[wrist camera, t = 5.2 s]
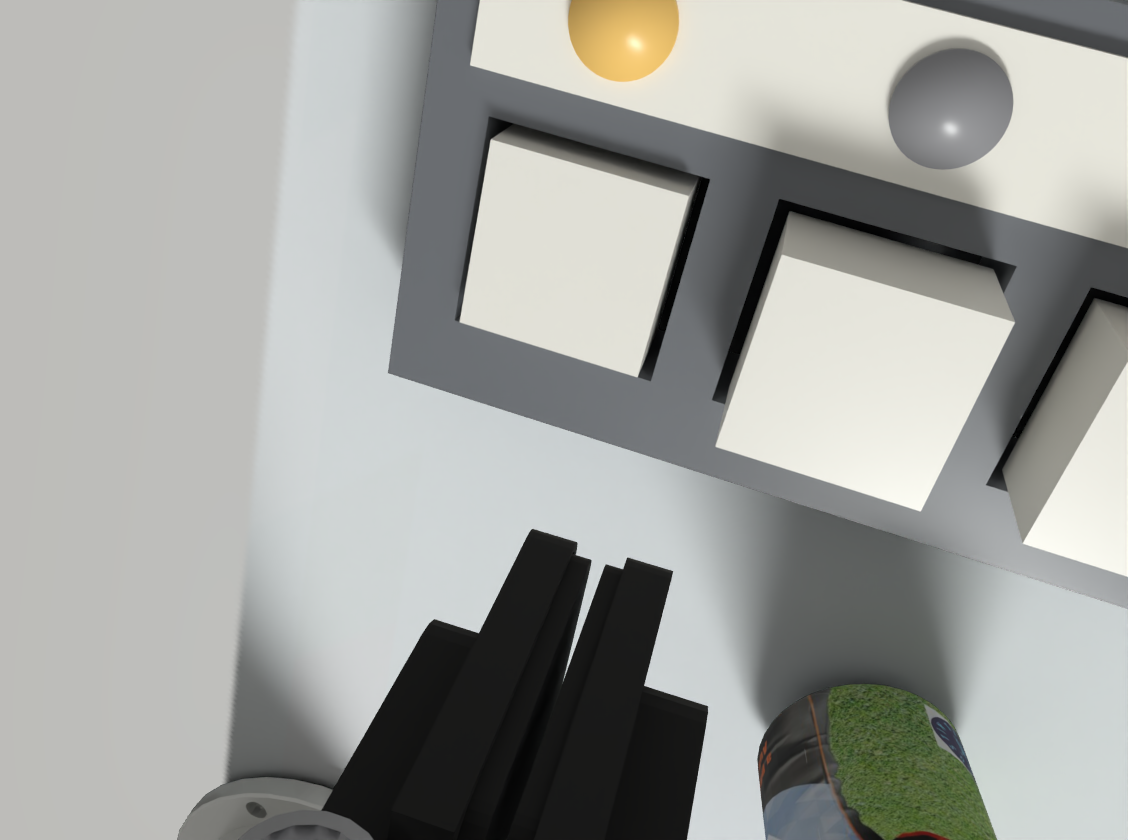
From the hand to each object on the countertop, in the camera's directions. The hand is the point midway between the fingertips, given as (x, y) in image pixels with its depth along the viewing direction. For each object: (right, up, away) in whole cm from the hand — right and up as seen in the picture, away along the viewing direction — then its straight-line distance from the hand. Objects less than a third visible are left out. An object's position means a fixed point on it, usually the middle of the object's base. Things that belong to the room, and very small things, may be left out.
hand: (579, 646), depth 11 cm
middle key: (+6, +5, +11) cm, 13 cm away
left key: (+1, +7, +13) cm, 15 cm away
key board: (+7, +7, +12) cm, 16 cm away
